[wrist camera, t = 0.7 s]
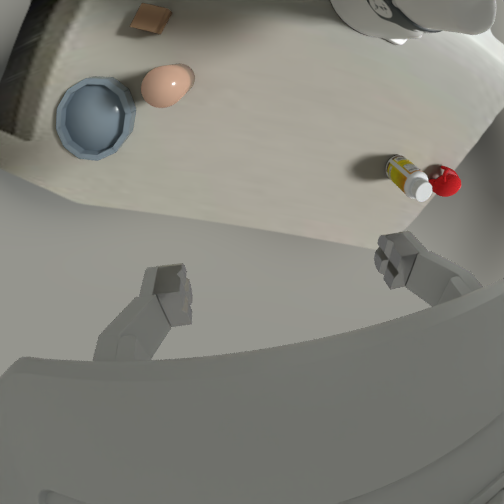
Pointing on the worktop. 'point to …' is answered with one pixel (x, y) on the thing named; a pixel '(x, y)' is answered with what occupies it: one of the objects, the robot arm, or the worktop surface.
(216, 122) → the worktop surface
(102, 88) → the dish
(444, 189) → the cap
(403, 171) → the supplement bottle
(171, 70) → the peach tapered cylinder
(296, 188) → the worktop surface
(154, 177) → the worktop surface
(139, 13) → the walnut block
